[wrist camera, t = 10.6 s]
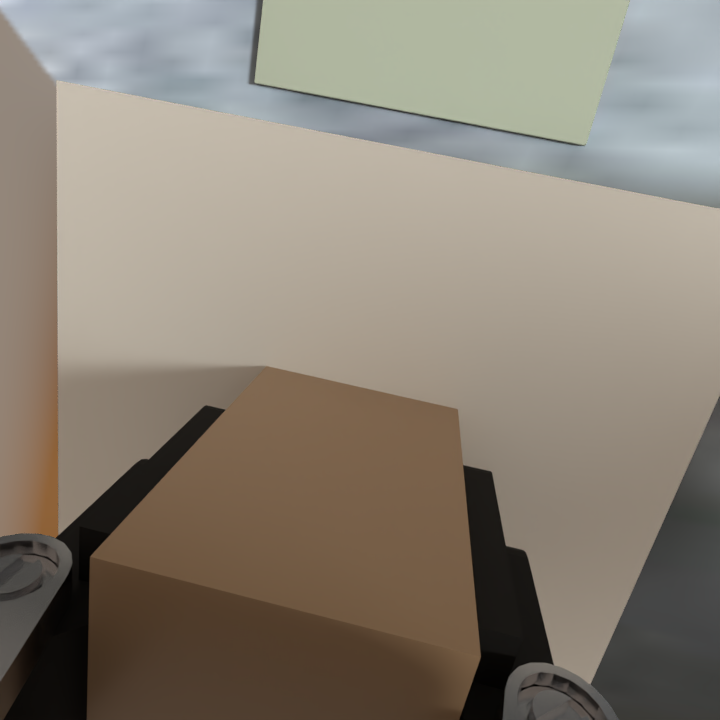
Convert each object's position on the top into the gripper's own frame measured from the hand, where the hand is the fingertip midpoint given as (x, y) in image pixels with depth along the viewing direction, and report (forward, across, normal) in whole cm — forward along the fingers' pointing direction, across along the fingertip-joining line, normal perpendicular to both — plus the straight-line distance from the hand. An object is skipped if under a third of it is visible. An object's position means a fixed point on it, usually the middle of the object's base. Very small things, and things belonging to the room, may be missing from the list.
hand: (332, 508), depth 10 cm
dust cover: (+17, 0, 0) cm, 17 cm away
